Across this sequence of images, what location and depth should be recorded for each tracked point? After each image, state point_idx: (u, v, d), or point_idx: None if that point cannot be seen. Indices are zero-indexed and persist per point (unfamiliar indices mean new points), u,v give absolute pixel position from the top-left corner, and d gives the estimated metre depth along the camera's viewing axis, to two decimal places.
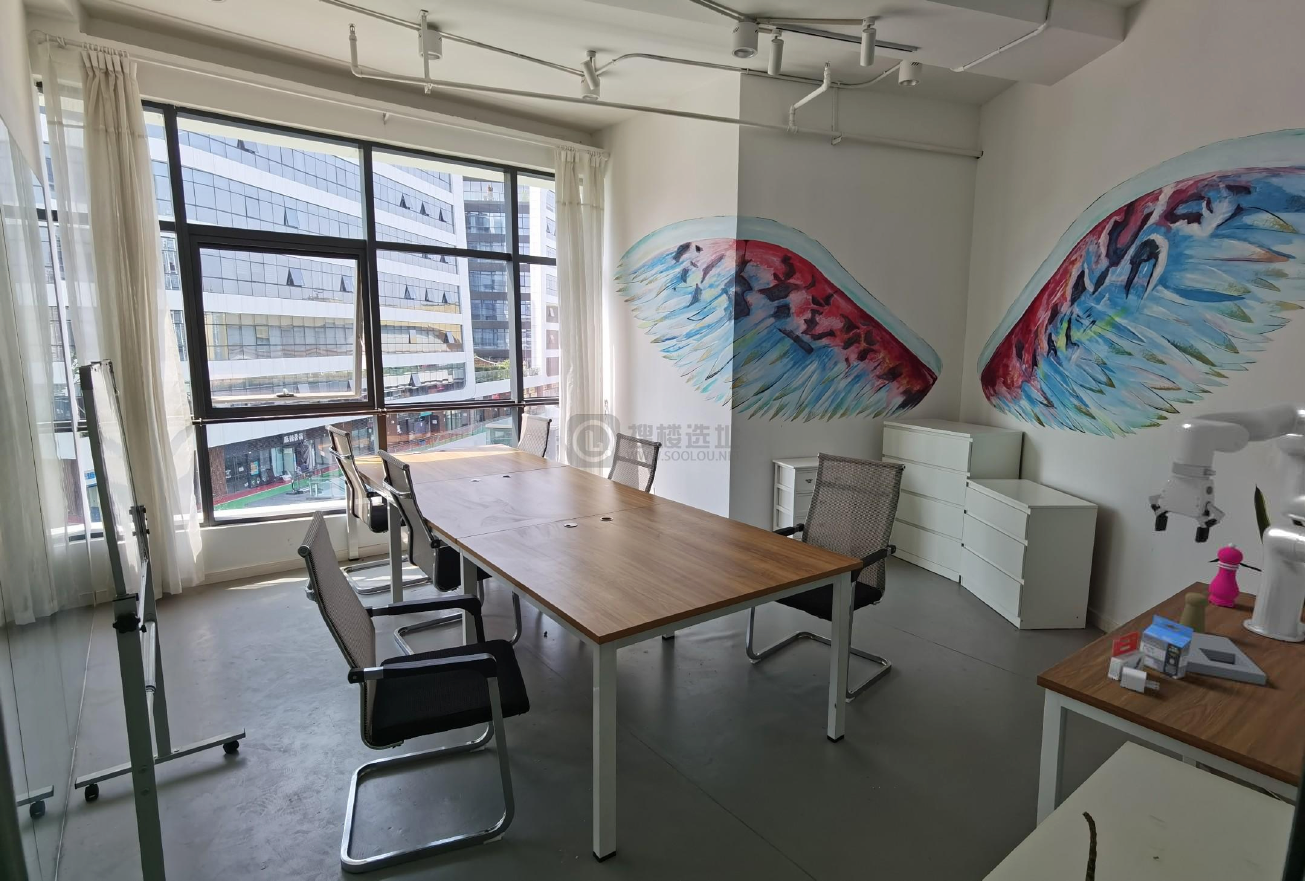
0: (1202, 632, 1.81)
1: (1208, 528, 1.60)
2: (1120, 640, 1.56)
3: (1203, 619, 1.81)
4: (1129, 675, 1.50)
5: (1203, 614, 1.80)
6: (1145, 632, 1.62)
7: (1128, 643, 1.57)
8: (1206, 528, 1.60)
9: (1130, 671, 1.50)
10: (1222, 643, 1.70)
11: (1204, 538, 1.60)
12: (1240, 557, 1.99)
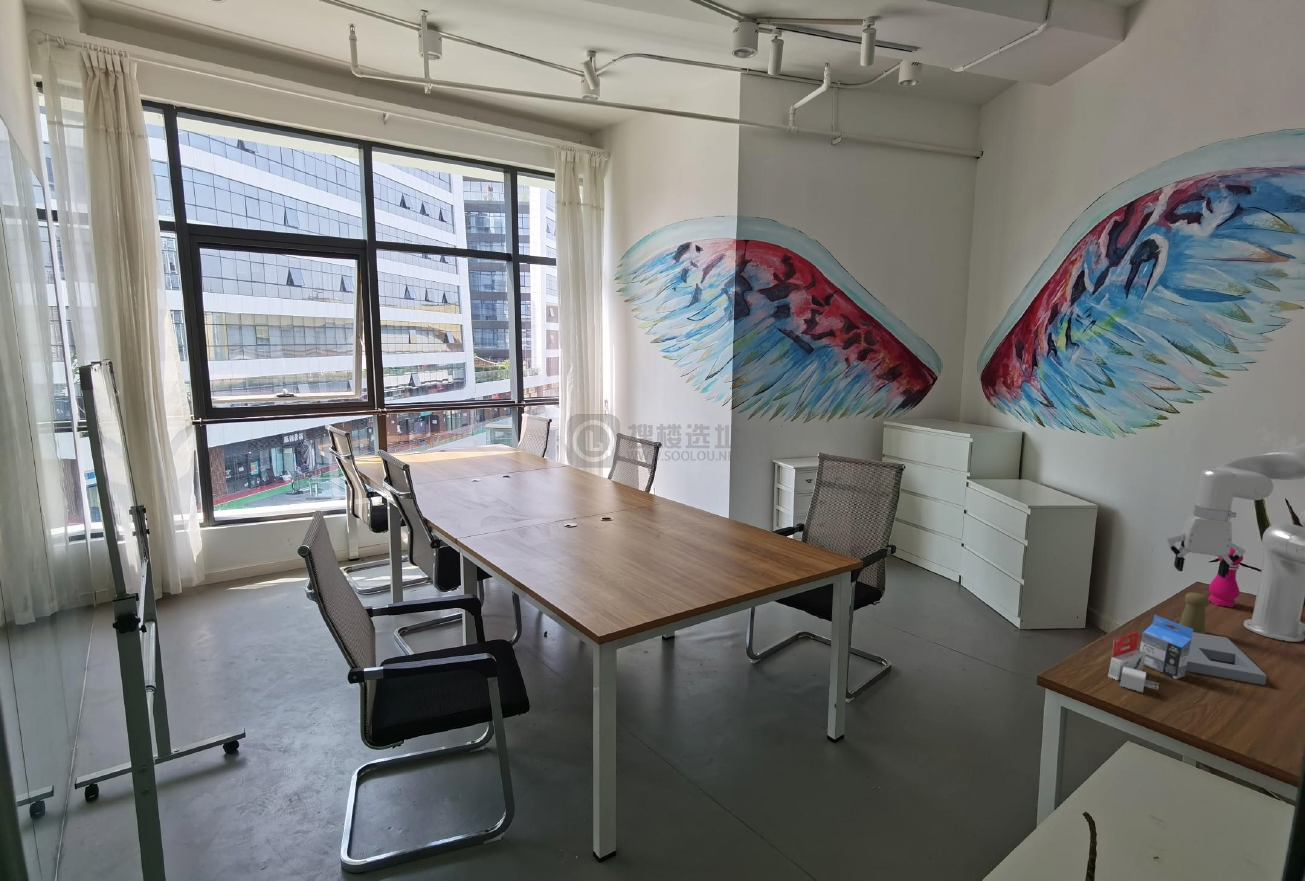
0: (1202, 632, 1.81)
1: None
2: (1120, 640, 1.55)
3: (1203, 619, 1.81)
4: (1129, 675, 1.50)
5: (1203, 614, 1.80)
6: (1145, 632, 1.62)
7: (1128, 643, 1.57)
8: None
9: (1130, 671, 1.50)
10: (1222, 643, 1.70)
11: None
12: (1240, 557, 1.99)
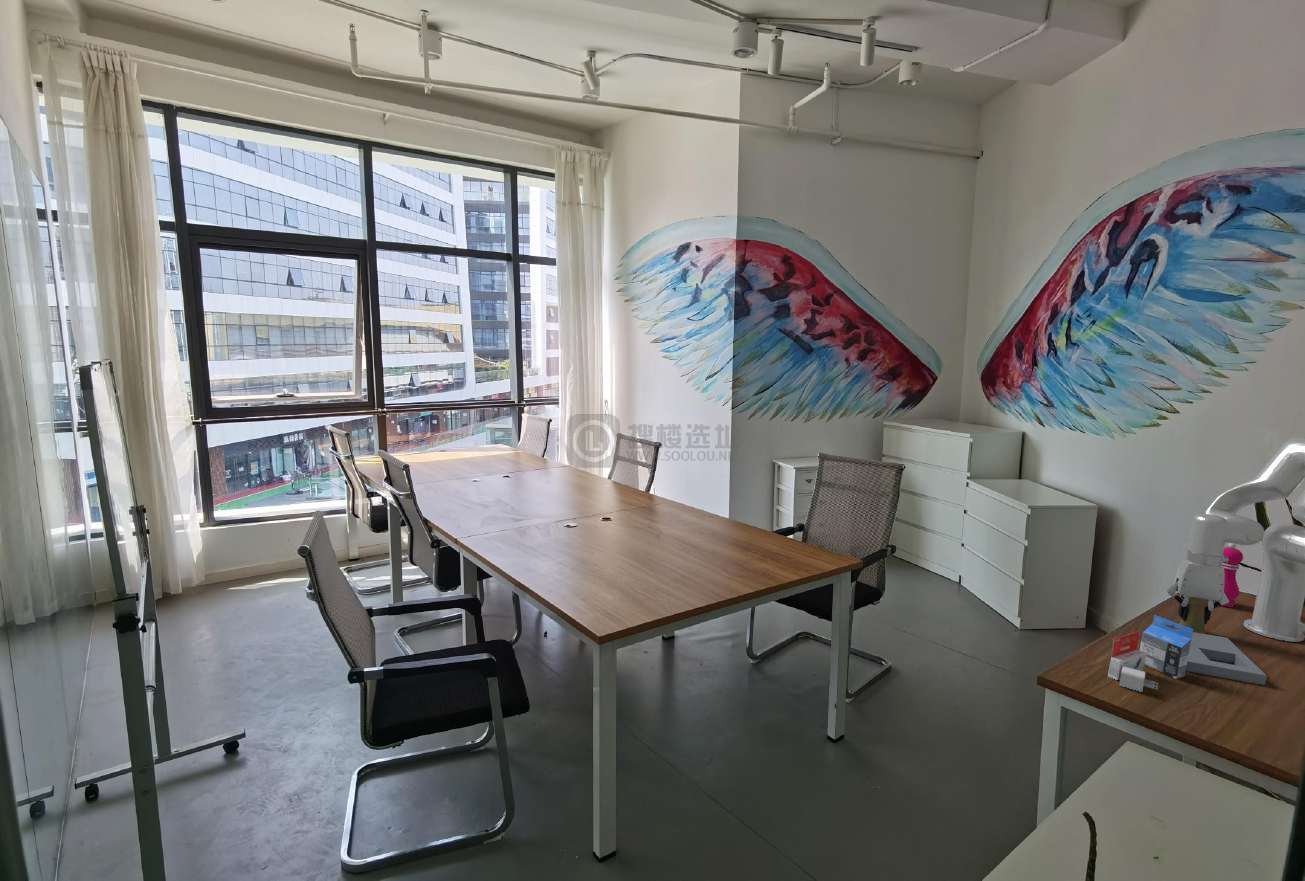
0: (1202, 632, 1.81)
1: None
2: (1120, 640, 1.56)
3: (1203, 619, 1.81)
4: (1128, 675, 1.50)
5: (1203, 614, 1.80)
6: (1145, 632, 1.62)
7: (1128, 643, 1.57)
8: None
9: (1129, 671, 1.51)
10: (1222, 643, 1.70)
11: None
12: (1240, 557, 1.99)
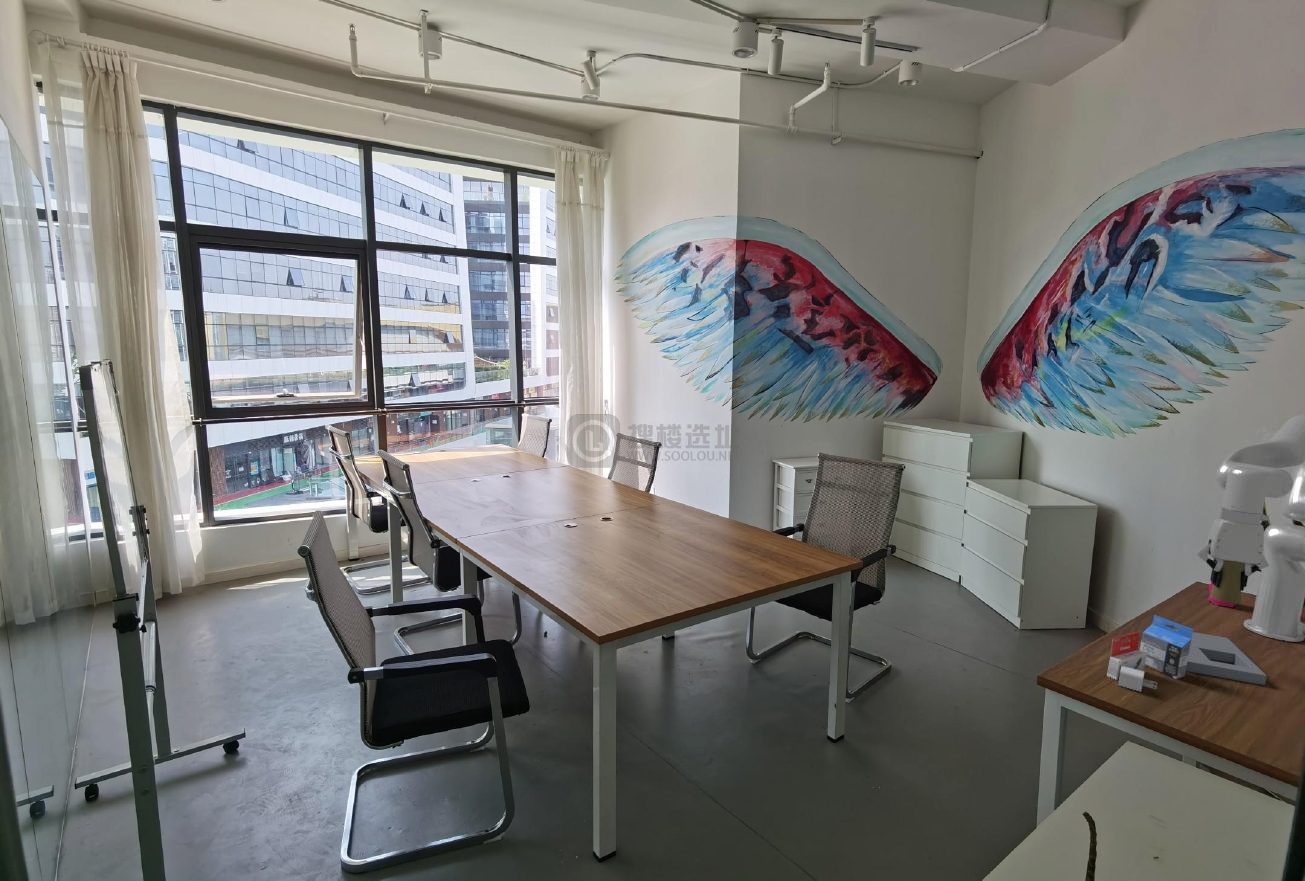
0: (1238, 600, 1.61)
1: None
2: (1120, 640, 1.56)
3: (1239, 585, 1.61)
4: (1127, 674, 1.50)
5: (1239, 579, 1.61)
6: (1145, 632, 1.62)
7: (1128, 643, 1.57)
8: None
9: (1128, 670, 1.51)
10: (1222, 643, 1.70)
11: None
12: None
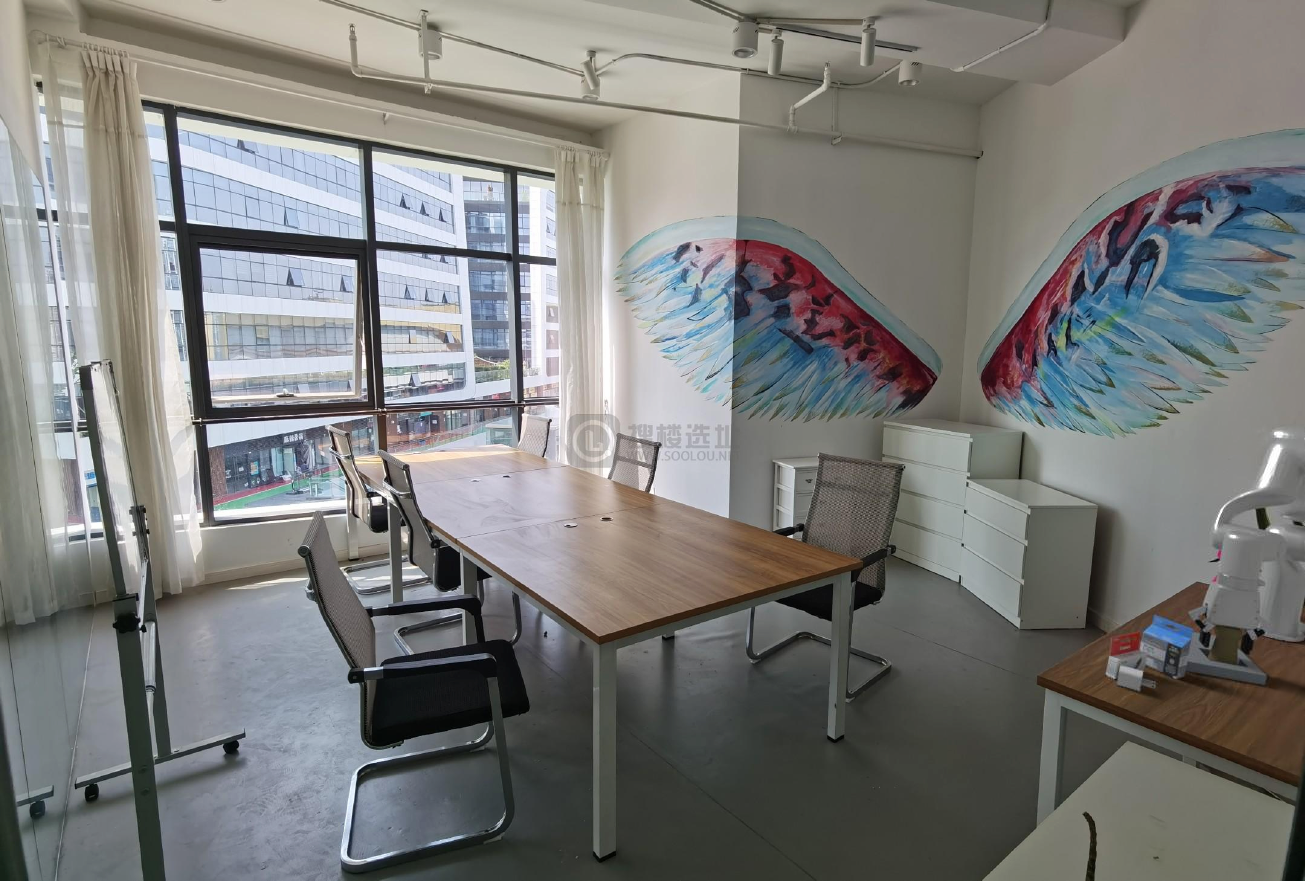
0: None
1: None
2: (1119, 639, 1.56)
3: (1236, 654, 1.60)
4: (1125, 674, 1.50)
5: (1236, 648, 1.60)
6: (1145, 632, 1.62)
7: (1128, 643, 1.57)
8: None
9: (1127, 670, 1.51)
10: None
11: None
12: None
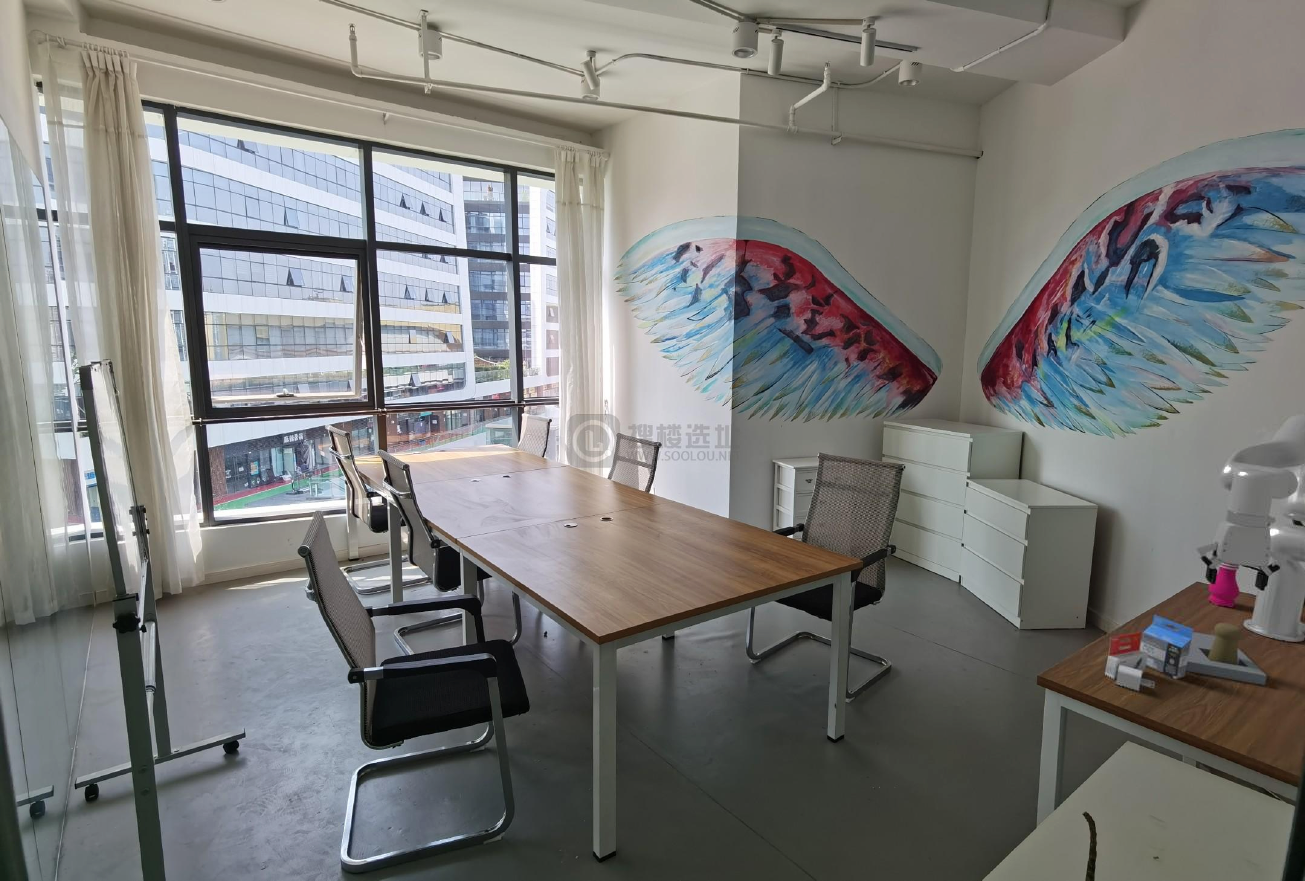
0: None
1: None
2: (1119, 639, 1.56)
3: (1236, 654, 1.60)
4: (1125, 673, 1.50)
5: (1235, 648, 1.60)
6: (1145, 632, 1.62)
7: (1128, 643, 1.57)
8: None
9: (1126, 669, 1.51)
10: None
11: None
12: None
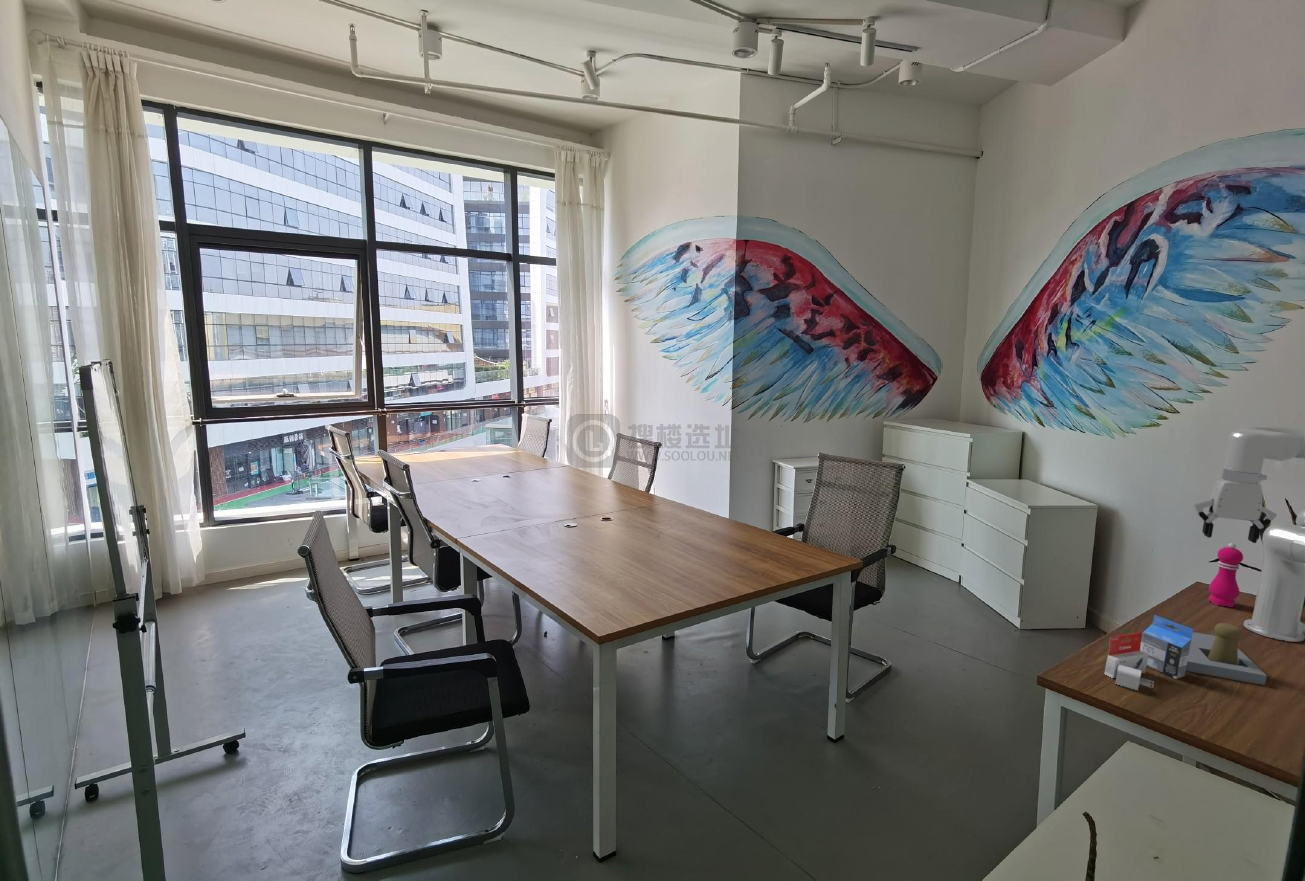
0: None
1: None
2: (1119, 639, 1.56)
3: (1236, 654, 1.60)
4: (1124, 673, 1.50)
5: (1236, 648, 1.60)
6: (1145, 632, 1.62)
7: (1129, 643, 1.57)
8: None
9: (1125, 669, 1.51)
10: None
11: None
12: (1240, 557, 1.99)
